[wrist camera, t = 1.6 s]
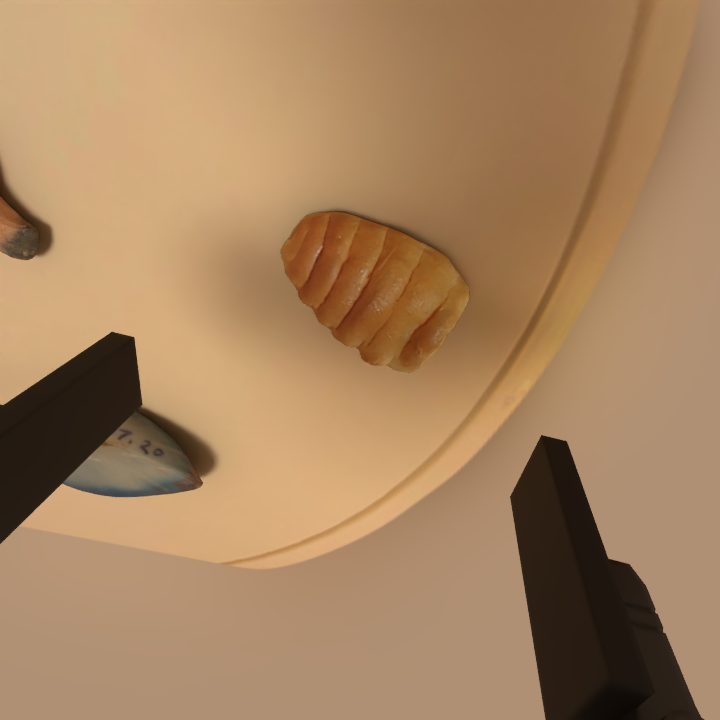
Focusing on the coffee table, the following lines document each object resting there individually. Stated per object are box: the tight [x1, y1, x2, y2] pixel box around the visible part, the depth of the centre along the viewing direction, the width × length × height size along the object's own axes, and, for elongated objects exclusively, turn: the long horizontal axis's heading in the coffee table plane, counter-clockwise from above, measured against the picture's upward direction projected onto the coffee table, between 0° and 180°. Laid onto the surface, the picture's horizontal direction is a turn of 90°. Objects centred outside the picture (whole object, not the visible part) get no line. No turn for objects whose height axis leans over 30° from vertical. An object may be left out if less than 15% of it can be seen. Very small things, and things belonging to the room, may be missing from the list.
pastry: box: [281, 212, 470, 373], centre depth 22 cm, size 9×7×4 cm
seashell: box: [63, 411, 203, 497], centre depth 31 cm, size 6×9×10 cm
